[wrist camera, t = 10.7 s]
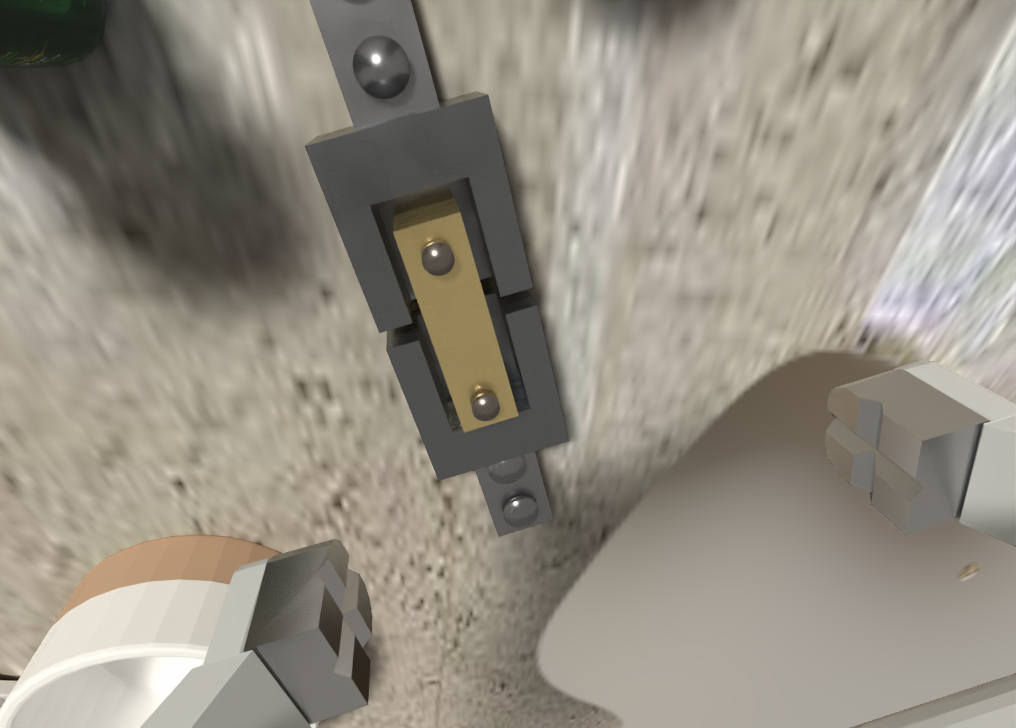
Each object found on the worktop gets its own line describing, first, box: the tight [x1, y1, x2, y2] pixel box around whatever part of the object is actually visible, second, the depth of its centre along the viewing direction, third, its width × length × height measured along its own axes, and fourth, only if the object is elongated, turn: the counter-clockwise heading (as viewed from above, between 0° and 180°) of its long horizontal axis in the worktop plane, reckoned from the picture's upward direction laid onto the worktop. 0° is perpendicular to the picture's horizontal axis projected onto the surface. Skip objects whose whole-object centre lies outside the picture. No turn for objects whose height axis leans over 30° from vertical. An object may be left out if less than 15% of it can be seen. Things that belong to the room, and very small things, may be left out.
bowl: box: [0, 535, 319, 728], centre depth 36 cm, size 17×17×8 cm
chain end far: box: [386, 288, 569, 537], centre depth 34 cm, size 17×8×4 cm, turn 14°
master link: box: [393, 191, 519, 433], centre depth 28 cm, size 11×3×6 cm, turn 14°
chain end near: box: [305, 0, 533, 333], centre depth 25 cm, size 17×8×4 cm, turn 14°
